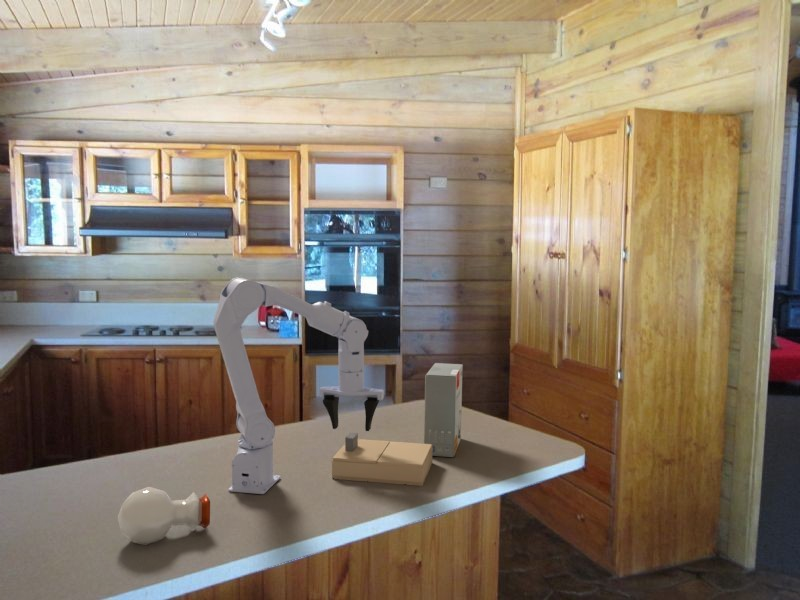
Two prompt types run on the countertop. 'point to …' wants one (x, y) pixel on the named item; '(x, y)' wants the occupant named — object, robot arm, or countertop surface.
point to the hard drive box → (443, 408)
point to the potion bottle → (160, 514)
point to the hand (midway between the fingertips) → (351, 428)
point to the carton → (390, 465)
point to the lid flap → (361, 450)
